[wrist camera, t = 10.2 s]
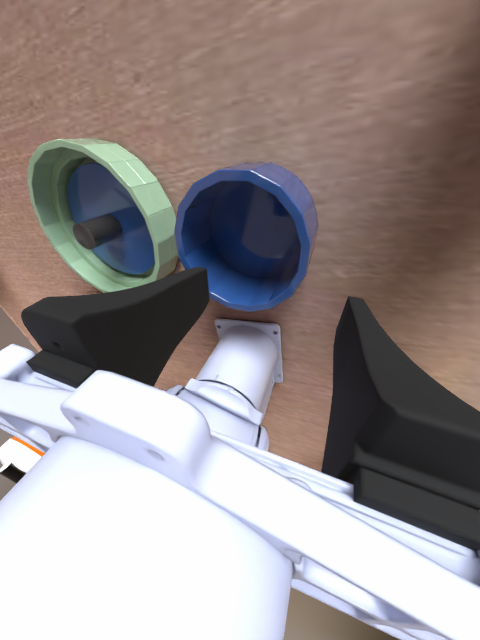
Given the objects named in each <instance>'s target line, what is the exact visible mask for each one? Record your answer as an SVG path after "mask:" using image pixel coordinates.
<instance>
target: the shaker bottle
mask: <svg viewBox="0 0 480 640" xmlns="http://www.w3.org/2000/svg"><path fill="white" fill-rule="evenodd" d="M44 454H45V453H43V452H41V451H40V450H38V449H36V448H35V447H33V446H31V445H29V444H28V443H26V442H24V441H22V440H21V439H19V438H17V437H15V436H14V437H13V438H10V439H9V440H8V441H7V442H6V443H5V444H3V445H2V446H1V447H0V461H1V463H2V464H3V466H2V467H1V469H0V474H1V475H3V476H5V477H6V478H8V479H10V480H11V481H13V482H15V483H16V484H17V483H18V482H19V481H20V480H21V479H22V478H23V477H24V475H25V474H26V473H27V472H28V471H29V470H30V469H31V468H32V467H33V466H34V465H35V464H36V463H37V462H38V461H39V460H40V459H41V457H42V456H43V455H44Z"/></svg>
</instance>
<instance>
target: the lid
mask: <svg viewBox="0 0 480 640" xmlns="http://www.w3.org/2000/svg"><path fill="white" fill-rule="evenodd" d="M68 203H69V208H70V211H71V215H72V217H73V220H74V222H75V224H74V226H73V234H74V236H75V238H76V240H77V241H78V243H79V244H80V245H81V246H83V247H84V248H86V249H88V250H93V252H94V253H95V254H96V255H97V256H98V257H99V258H101V259H102V260H103V261H104V262H105V263H107V264H108V265H110V266H111V267H113V268H115V269H117V270H119V271H121V272H124V273H128V274H140V273H144V272H146V271H148V270H149V269H151V268H152V267H153V266H154V265H155V257H154V247H153V241H152V238H151V236H150V233H149V230H148V227H147V224H146V221H145V219H144V217H143V215H142V213H141V212H140V210H139V208H138V207H137V205H136V203H135V202H134V200H133V198H132V197H131V195H130V194H129V192H128V191H127V190H126V189H125V187H124V186H123V185H122V184H121V183H120V182H119V181H118V180H117V179H116V178H115V177H114V176H113V174H112V173H111V172H110V171H109V170H108V169H107V168H106V167H104V166H103V165H101V164H100V163H87V164H84V165H81V166H80V167H78V168H77V169H76V170H75V171H74V172H73V174H72V175H71V177H70V180H69V184H68Z"/></svg>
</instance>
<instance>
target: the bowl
mask: <svg viewBox="0 0 480 640" xmlns="http://www.w3.org/2000/svg"><path fill="white" fill-rule="evenodd" d="M87 163H100V164H101V165H103V166H104V167H106V168H107V169H108V170H109V171H110V172H111V173H112V174H113V176H114V177H115V178H116V179H117V180H118V181H119V182H120V183H121V184H122V185H123V186H124V187H125V189H126V190H127V191H128V192H129V194H130V195H131V197H132V198H133V200H134V202H135V203H136V205H137V207H138V208H139V210H140V212H141V213H142V215H143V217H144V219H145V221H146V224H147V227H148V230H149V233H150V236H151V238H152V241H153V247H154V257H155V265H154V266H153V267H152V268H151V269H149V270H148V271H146V272H144V273H140V274H128V273H124V272H121V271H119V270H117V269H115V268H113V267H111V266H110V265H108V264H107V263H105V262H104V261H103V260H102V259H101V258H99V257H98V256H97V255H96V254H95V253H94V252H93V250H88V249H86V248H84V247H83V246H81V245H80V244H79V243H78V241H77V240H76V238H75V236H74V234H73V226H74V224H75V222H74V220H73V217H72V215H71V211H70V208H69V203H68V184H69V180H70V177H71V175H72V174H73V172H74V171H75V170H76V169H77V168H78V167H80V166H81V165H84V164H87ZM27 183H28V188H29V194H30V200H31V204H32V206H33V209H34V211H35V214H36V216H37V219H38V221H39V224H40V226H41V228H42V230H43V231H44V233H45V235H46V236H47V238H48V240H49V241H50V243H51V245H52V246H53V247H54V249H55V250H56V251H57V253H58V254H59V255H60V256H61V258H62V259H63V260H64V261H65V262H66V264H67V265H68V266H69V267H70V268H71V269H72V270H73V271H74V272H76V273H77V274H78V275H79V276H80V277H81V278H82V279H83V280H84V281H86V282H87V283H89V284H90V285H92V286H93V287H95V288H97V289H98V290H100V291H102V292H104V293H107V292H113V291H119V290H124V289H129V288H133V287H137V286H141V285H144V284H148V283H151V282H154V281H157V280H160V279H163V278H165V277H168V276H169V275H170V274H171V273H172V271H173V270H174V269H175V266H176V263H177V260H178V257H179V256H178V250H177V245H176V240H175V235H174V229H175V223H176V217H175V213H174V210H173V207H172V205H171V203H170V201H169V200H168V198H167V196H166V194H165V192H164V190H163V188H162V187H161V185H160V183H159V182H158V180H157V179H156V178H155V177H154V175H153V174H152V173H151V172H150V171H149V170H148V169H147V167H146V166H145V165H144V164H143V163H142V162H141V161H140V160H139V159H138V158H137V157H135V156H134V155H132V154H131V153H129V152H128V151H126V150H125V149H124V148H122V147H121V146H119V145H118V144H115V143H111V142H107V141H103V140H99V139H57V140H53V141H50V142H46V143H43V144H41V145H39V147H38V148H37V150H36V151H35V152H34V154H33V155H32V157H31V158H30V161H29V168H28V176H27Z"/></svg>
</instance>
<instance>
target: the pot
mask: <svg viewBox="0 0 480 640" xmlns="http://www.w3.org/2000/svg"><path fill="white" fill-rule="evenodd" d="M317 230H318V220H317V213H316V208H315V205H314V202H313V199H312V197H311V195H310V193H309V191H308V190H307V188H306V187H305V185H304V184H303V183H302V182H301V181H300V180H299V179H298V178H297V177H296V176H295V175H294V174H293V173H291V172H290V171H288V170H286V169H285V168H283V167H280V166H278V165H275V164H273V163H264V162H255V163H243V164H239V165H235V166H231V167H227V168H223V169H219V170H217V171H215V172H213V173H211V174H209V175H208V176H206V177H204V178H202V179H200V180H198V181H196V182H195V183H194V184H193V185H192V186H191V188H190V189H189V191H188V192H187V194H186V195H185V197H184V198H183V200H182V201H181V203H180V204H179V206H178V211H177V217H176V223H175V229H174V235H175V240H176V245H177V250H178V256H179V259H180V261H181V262H182V264H183V266H184V268H185V270H187V269H190V268H194V267H201V268H206V269H207V274H208V286H209V298H211V299H213V300H215V301H217V302H218V303H220V304H222V305H224V306H226V307H228V308H232V309H238V310H243V311H248V312H252V311H258V310H264V309H270V308H273V307H275V306H276V305H278V304H280V303H281V302H283V301H284V300H286V299H288V298H289V297H291V296H292V295H293V294H294V292H295V291H296V289H297V288H298V286H299V285H300V283H301V282H302V280H303V279H304V277H305V276H306V273H307V270H308V267H309V264H310V260H311V257H312V254H313V251H314V247H315V241H316V237H317Z"/></svg>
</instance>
